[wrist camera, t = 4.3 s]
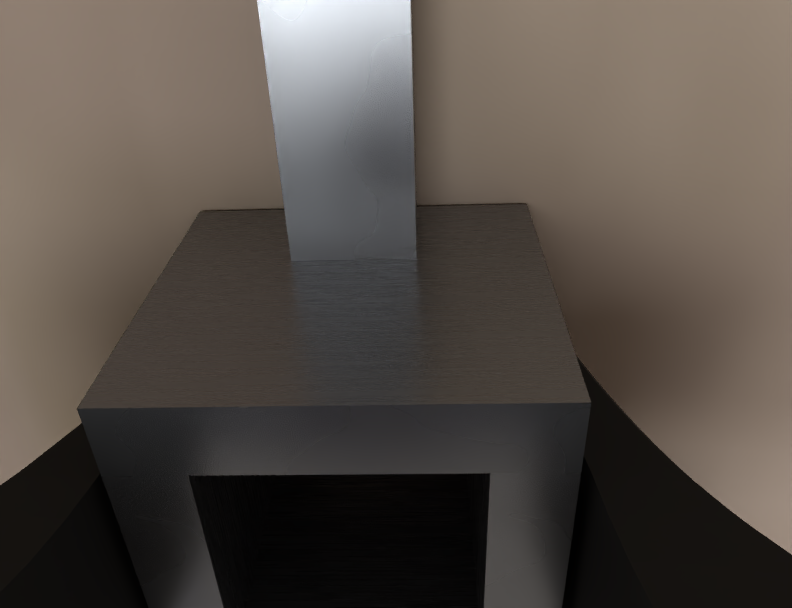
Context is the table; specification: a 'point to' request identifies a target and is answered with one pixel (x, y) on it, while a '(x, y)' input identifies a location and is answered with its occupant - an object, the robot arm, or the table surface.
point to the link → (346, 369)
